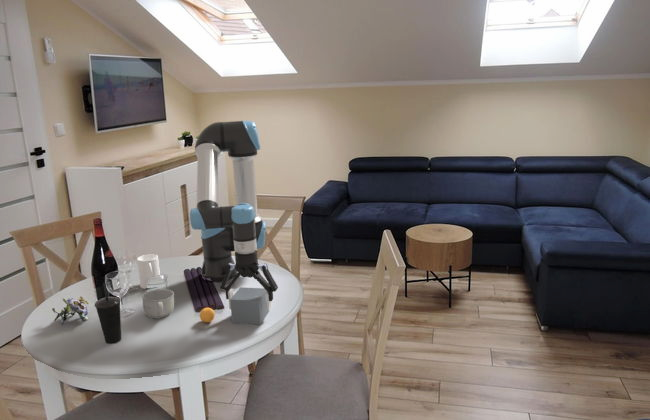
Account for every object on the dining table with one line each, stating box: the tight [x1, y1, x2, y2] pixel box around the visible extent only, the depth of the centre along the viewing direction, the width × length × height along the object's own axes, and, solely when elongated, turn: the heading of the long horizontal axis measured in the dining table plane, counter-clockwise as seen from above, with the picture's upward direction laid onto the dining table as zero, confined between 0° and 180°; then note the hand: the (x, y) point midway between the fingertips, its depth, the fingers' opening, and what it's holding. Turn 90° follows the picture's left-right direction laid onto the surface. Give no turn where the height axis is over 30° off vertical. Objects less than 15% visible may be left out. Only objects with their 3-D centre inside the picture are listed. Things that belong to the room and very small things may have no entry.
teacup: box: [141, 288, 175, 319], centre depth 181 cm, size 14×11×8 cm
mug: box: [136, 253, 161, 290], centre depth 207 cm, size 12×8×12 cm
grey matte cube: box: [230, 287, 270, 326], centre depth 178 cm, size 10×10×9 cm
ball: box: [199, 307, 216, 323], centre depth 176 cm, size 5×5×5 cm
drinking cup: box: [94, 282, 122, 345], centre depth 164 cm, size 8×8×20 cm
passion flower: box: [51, 296, 89, 326], centre depth 179 cm, size 11×11×12 cm
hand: (250, 308), depth 178 cm, fingers open, 13 cm apart
